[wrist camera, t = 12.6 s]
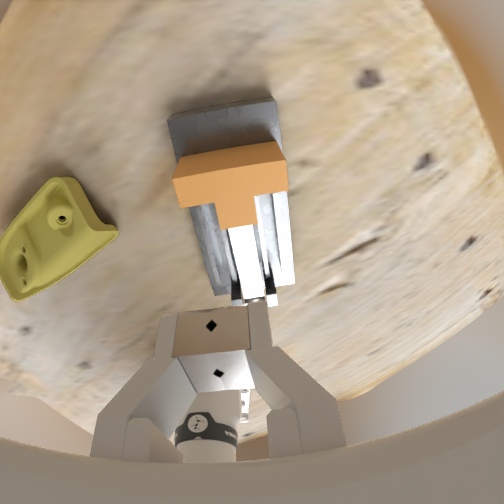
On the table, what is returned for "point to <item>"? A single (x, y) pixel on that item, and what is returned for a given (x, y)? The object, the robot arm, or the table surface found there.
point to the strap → (247, 263)
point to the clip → (231, 180)
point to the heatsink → (267, 205)
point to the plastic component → (50, 238)
